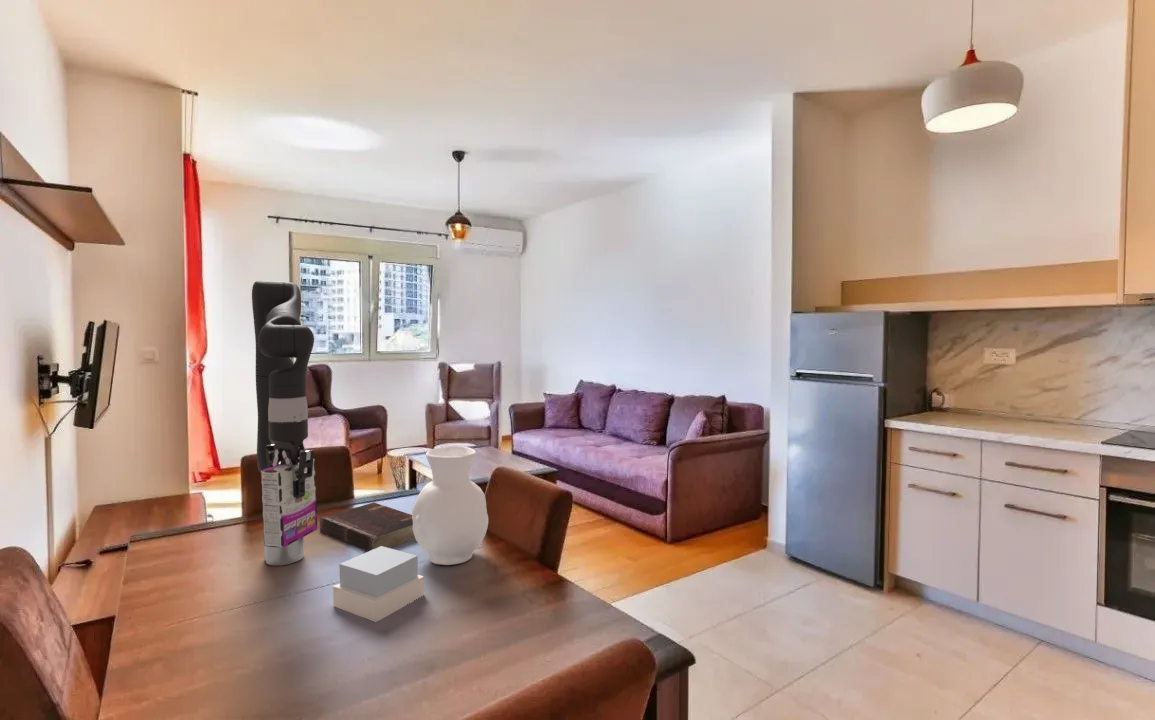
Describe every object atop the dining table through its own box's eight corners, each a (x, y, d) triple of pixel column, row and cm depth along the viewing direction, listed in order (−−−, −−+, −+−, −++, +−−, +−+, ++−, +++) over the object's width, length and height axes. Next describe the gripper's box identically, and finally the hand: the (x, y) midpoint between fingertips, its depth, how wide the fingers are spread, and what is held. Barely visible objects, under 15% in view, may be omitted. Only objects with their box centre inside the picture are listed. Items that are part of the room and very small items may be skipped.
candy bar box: (298, 528, 127) (297, 457, 126) (318, 530, 126) (316, 458, 125) (261, 546, 116) (259, 469, 115) (282, 548, 115) (280, 470, 114)
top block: (339, 585, 125) (339, 563, 125) (381, 566, 136) (381, 546, 136) (377, 597, 120) (376, 575, 119) (417, 576, 130) (417, 555, 130)
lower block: (333, 607, 125) (333, 586, 125) (382, 583, 137) (382, 563, 137) (375, 624, 118) (375, 601, 118) (424, 597, 130) (423, 576, 130)
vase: (438, 582, 137) (437, 462, 136) (401, 556, 153) (400, 449, 152) (501, 562, 149) (501, 452, 148) (461, 540, 166) (461, 440, 164)
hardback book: (320, 532, 173) (319, 516, 173) (374, 516, 188) (374, 502, 188) (372, 555, 155) (371, 537, 155) (427, 536, 170) (427, 520, 170)
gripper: (251, 417, 120) (253, 494, 120) (292, 423, 112) (293, 504, 113) (285, 412, 126) (286, 485, 127) (325, 418, 119) (326, 495, 120)
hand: (290, 494), depth 120 cm, fingers closed on candy bar box, 6 cm apart
